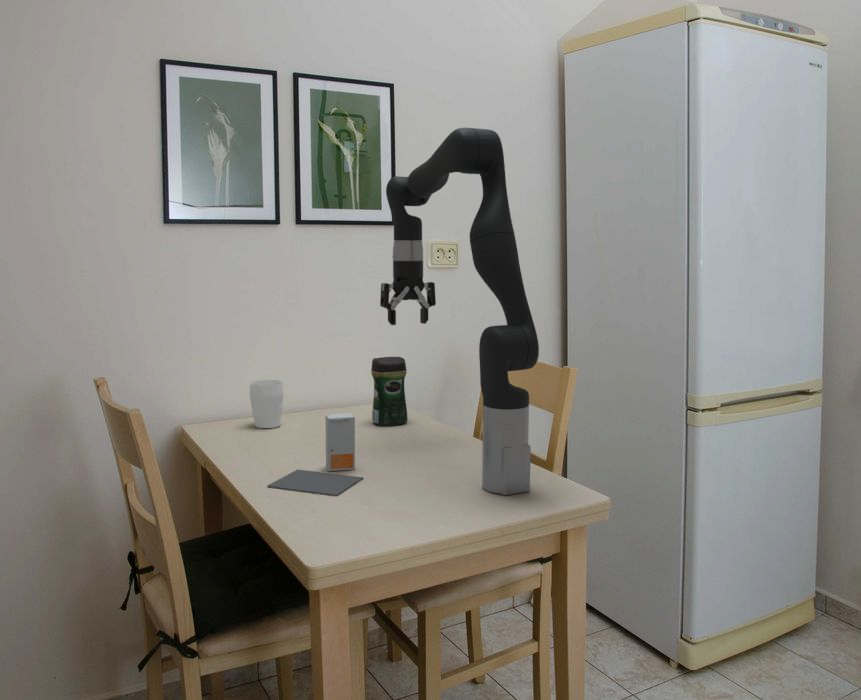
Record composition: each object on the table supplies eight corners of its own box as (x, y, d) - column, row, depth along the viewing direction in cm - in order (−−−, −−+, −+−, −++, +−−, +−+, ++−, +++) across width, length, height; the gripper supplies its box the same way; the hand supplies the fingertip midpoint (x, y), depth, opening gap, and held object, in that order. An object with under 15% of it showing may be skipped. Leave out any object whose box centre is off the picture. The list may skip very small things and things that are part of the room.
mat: (297, 470, 165) (297, 469, 165) (363, 478, 159) (363, 477, 159) (267, 487, 154) (267, 485, 154) (336, 496, 148) (336, 494, 148)
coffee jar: (401, 418, 214) (401, 354, 212) (410, 424, 207) (410, 358, 204) (368, 421, 211) (367, 355, 208) (376, 427, 204) (376, 359, 201)
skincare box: (328, 472, 164) (327, 418, 162) (325, 466, 168) (324, 414, 166) (356, 470, 166) (355, 416, 164) (352, 464, 170) (351, 412, 168)
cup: (244, 428, 203) (242, 385, 201) (261, 421, 211) (259, 379, 209) (274, 431, 200) (273, 386, 198) (290, 423, 209) (289, 380, 207)
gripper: (388, 259, 180) (388, 327, 182) (440, 259, 187) (440, 324, 189) (375, 259, 187) (376, 324, 189) (426, 258, 193) (426, 321, 195)
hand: (408, 324), depth 189 cm, fingers open, 8 cm apart
